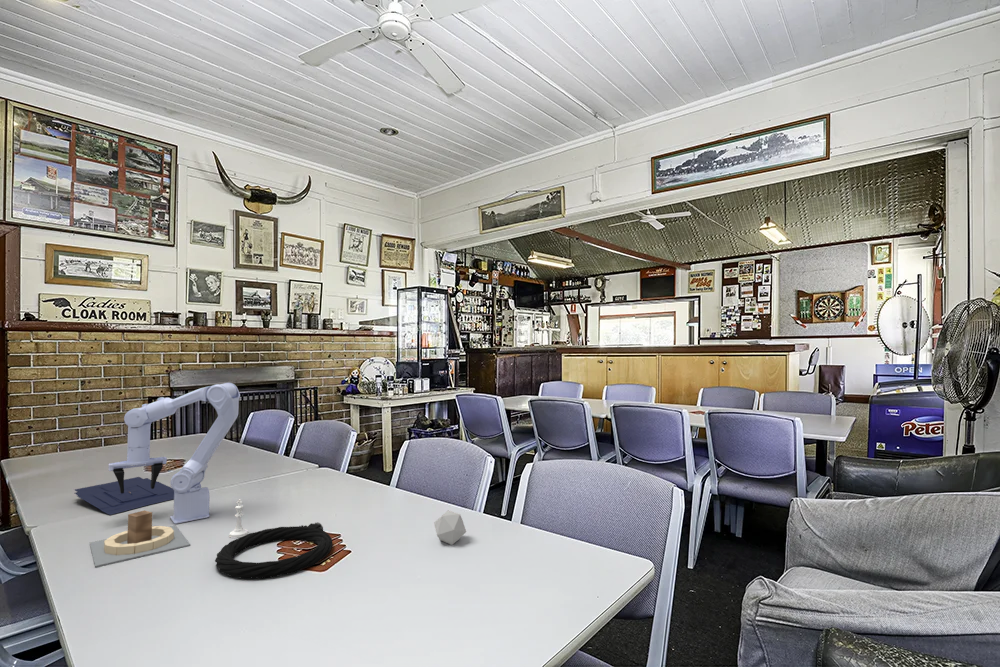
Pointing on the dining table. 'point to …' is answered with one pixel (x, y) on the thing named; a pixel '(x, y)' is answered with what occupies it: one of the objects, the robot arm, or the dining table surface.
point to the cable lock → (274, 567)
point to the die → (450, 527)
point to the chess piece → (238, 523)
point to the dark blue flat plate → (125, 495)
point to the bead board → (120, 558)
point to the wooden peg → (139, 527)
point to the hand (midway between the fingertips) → (137, 490)
